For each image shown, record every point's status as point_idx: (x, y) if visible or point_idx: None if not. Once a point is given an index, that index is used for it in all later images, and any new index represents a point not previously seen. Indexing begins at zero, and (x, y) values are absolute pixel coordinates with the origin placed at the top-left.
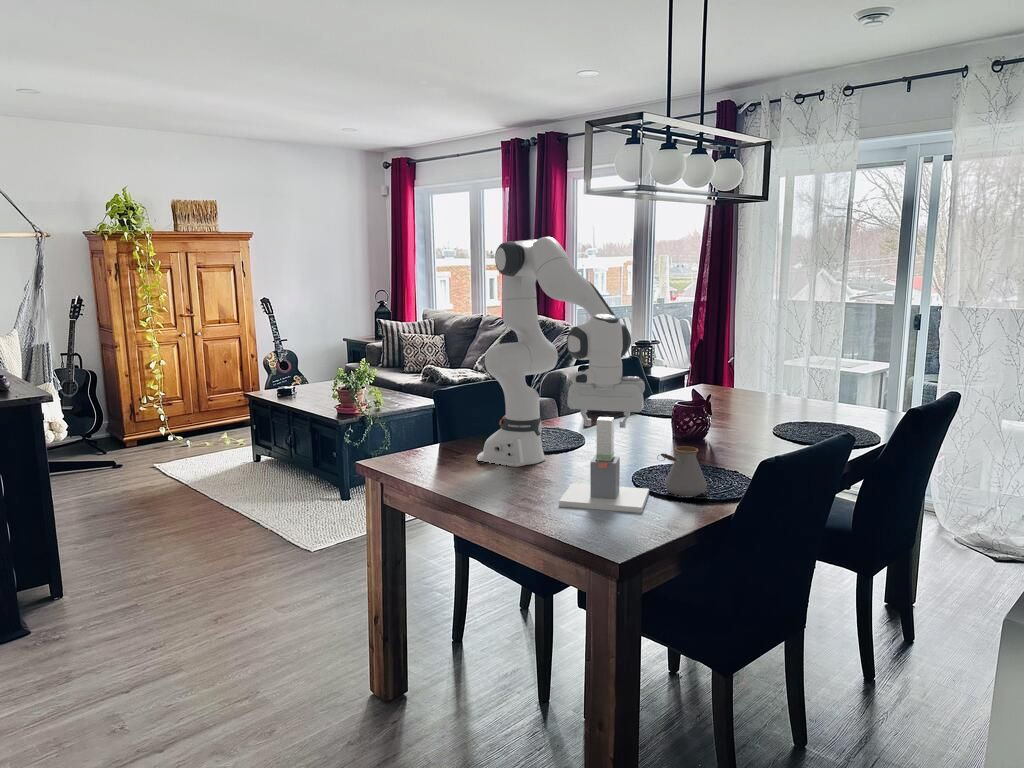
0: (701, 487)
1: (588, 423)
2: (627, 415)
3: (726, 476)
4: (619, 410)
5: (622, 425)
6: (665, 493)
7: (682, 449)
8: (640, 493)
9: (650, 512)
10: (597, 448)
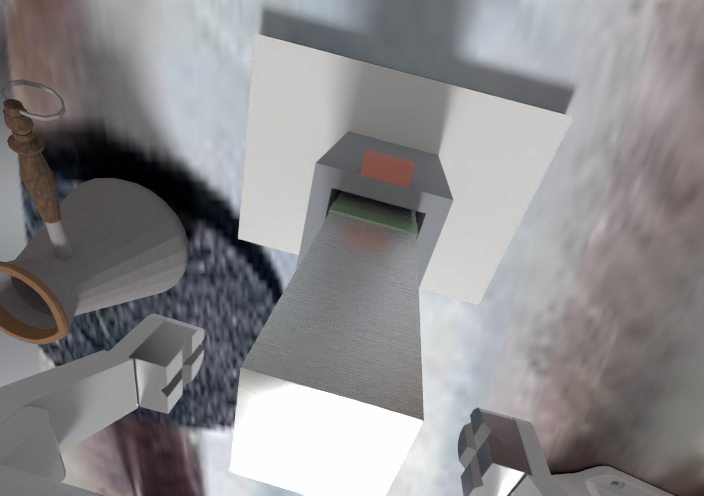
0: (69, 193)
1: (498, 429)
2: (4, 399)
3: (73, 342)
4: (24, 487)
5: (161, 328)
6: (200, 233)
7: (49, 330)
8: (262, 194)
9: (234, 45)
10: (411, 248)
